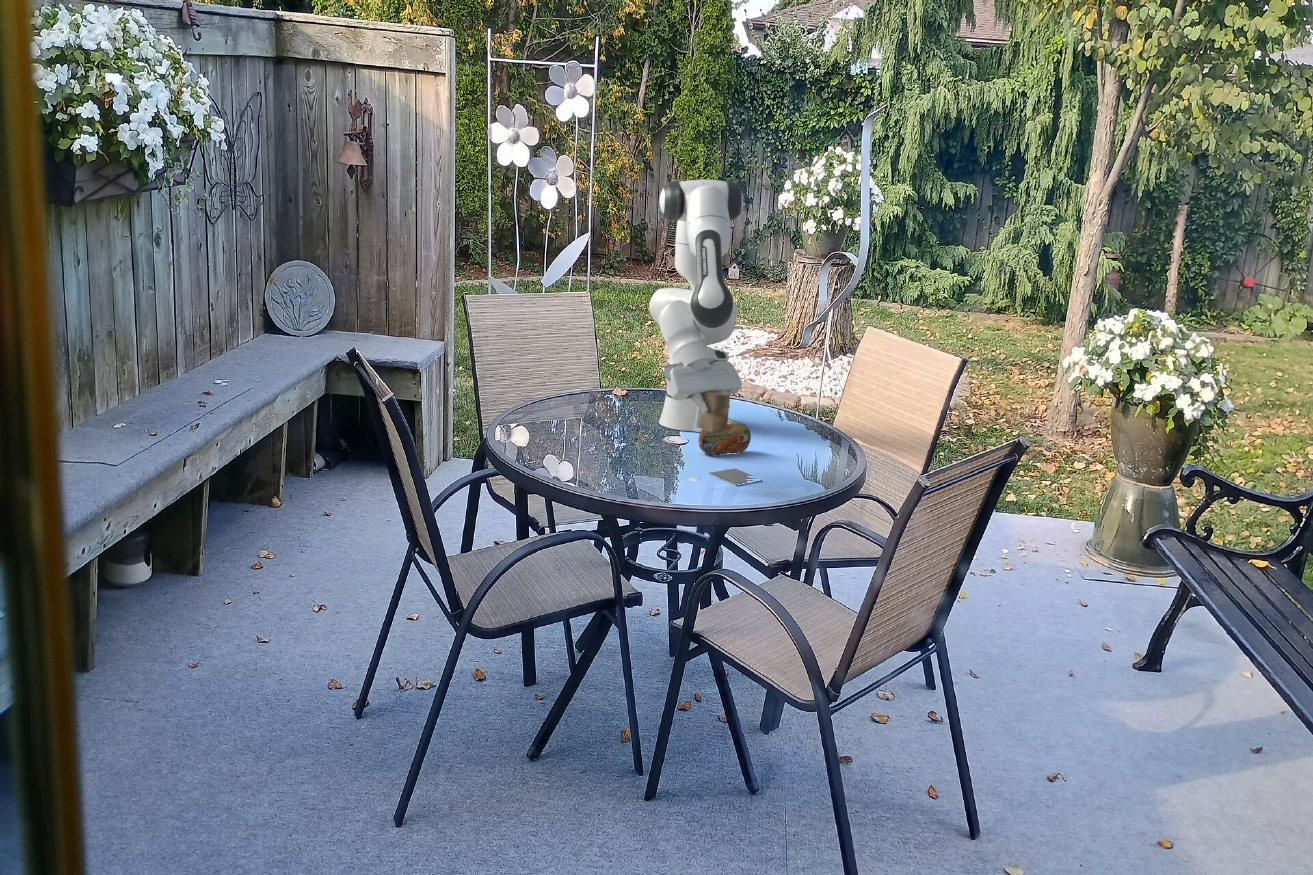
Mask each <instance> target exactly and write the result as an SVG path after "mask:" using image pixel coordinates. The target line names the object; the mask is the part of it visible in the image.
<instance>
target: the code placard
mask: <svg viewBox="0 0 1313 875" xmlns="http://www.w3.org/2000/svg"><path fill="white" fill-rule="evenodd" d="M697 477H698V476H697ZM697 477H696V476H695V477H690V478H689V477H688V478H686V480H687V481H689V482H691V481H697V480H694V479H701V478H697Z"/></svg>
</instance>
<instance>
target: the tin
mask: <svg viewBox="0 0 1313 875" xmlns="http://www.w3.org/2000/svg"><path fill="white" fill-rule="evenodd" d="M751 436H752V435H751V431H750V429H749V427H748V425H747V426H746V424H743V423H740V422H735V421H733V422H732V423H727V431H721V432H714V433H712V432H709V431H707V430H704V429H702V431H701V432H699V435H698V446H699V449H700V450H701V451H702V452H703V453H705V454H706V455H708V456H710V455H717V456H723V455H722V454H727V453H738V452H742V453H743V452H745V451H746V450H747V449H748V447H749V445H750V443H751V438H752V437H751ZM720 454H721V455H720Z"/></svg>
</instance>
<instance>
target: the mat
mask: <svg viewBox="0 0 1313 875" xmlns="http://www.w3.org/2000/svg"><path fill="white" fill-rule="evenodd" d="M709 474H712V475H714V476H717V477H719V478H720V479H719V478H718V479H719V480H721V479H723V480H725V481H728V482H730V483H733V484H735V485H737V484H742V483H747V481H753V480H746V479H754V478H750V477H747V476H753V475H751V474H750V475H749V473H747V472H745V471H742V470H740V469H738V468H730V469H729V468H728V469H725V470H718V471H713V472H709ZM709 474H708V475H709ZM712 475H711V476H712ZM714 476H713V477H714ZM755 479H756V478H755ZM723 480H722V481H723ZM725 481H724V482H725ZM728 482H727V483H728ZM730 483H729V484H730Z"/></svg>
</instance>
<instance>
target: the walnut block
mask: <svg viewBox="0 0 1313 875" xmlns="http://www.w3.org/2000/svg"><path fill="white" fill-rule="evenodd" d="M730 399H731V394H728V393H725V392H722V391H720V390H718V391H709V392H703V397H702V400H703V401H704V402H705V403H708V404H709V407H710V408H711V410H710V411H709V412H708V413H702V411H701V420H700V428H702V429H704V430H707V431H709V432H712V433H714V432H721V431H727V423H728V418H729V412H730V411H729V410H730V408H729V405H730Z"/></svg>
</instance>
